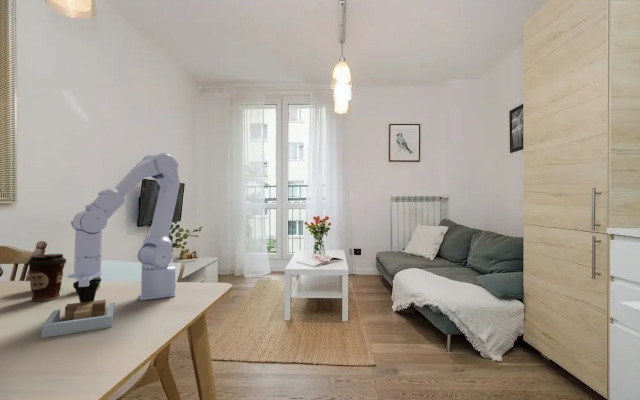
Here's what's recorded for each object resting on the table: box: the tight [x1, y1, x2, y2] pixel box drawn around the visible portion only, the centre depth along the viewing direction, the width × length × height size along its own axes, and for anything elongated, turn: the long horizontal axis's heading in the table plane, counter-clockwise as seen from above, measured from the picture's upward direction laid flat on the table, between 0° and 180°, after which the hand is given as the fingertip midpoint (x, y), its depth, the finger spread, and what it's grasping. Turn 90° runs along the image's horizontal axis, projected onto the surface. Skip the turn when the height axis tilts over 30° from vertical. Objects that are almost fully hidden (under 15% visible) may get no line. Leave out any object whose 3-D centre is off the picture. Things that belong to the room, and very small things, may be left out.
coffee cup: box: [26, 253, 67, 302], centre depth 93 cm, size 9×8×13 cm
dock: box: [41, 302, 116, 339], centre depth 74 cm, size 11×12×2 cm
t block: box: [64, 299, 107, 321], centre depth 77 cm, size 9×8×3 cm
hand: (87, 308), depth 82 cm, fingers closed
